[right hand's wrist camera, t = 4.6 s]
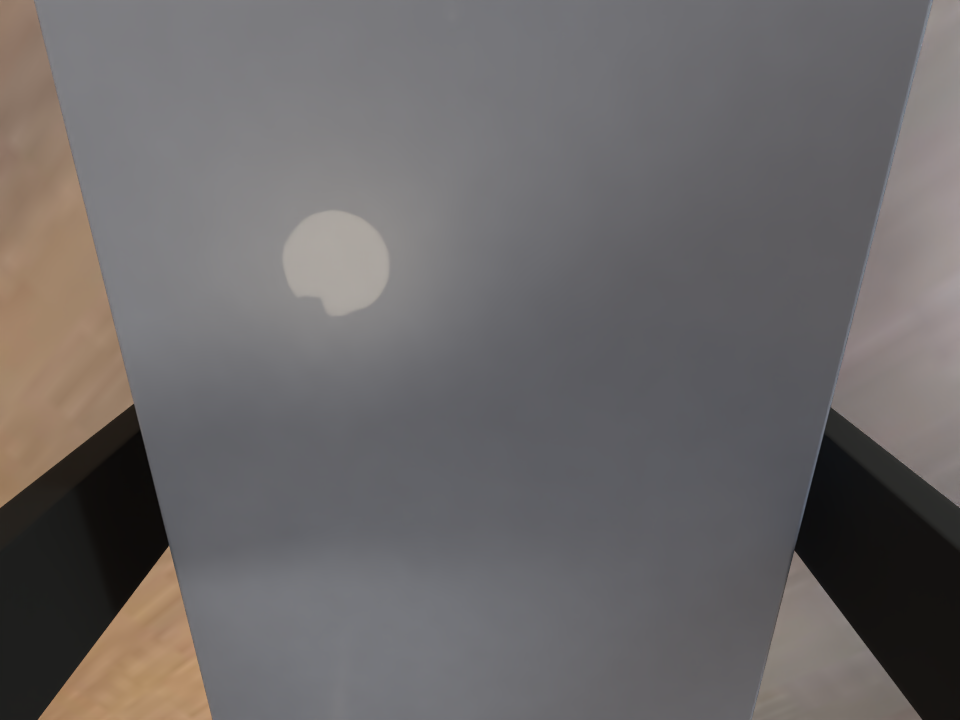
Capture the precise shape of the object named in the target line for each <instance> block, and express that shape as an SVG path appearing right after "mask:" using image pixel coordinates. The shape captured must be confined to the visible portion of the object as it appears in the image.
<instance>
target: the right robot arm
mask: <svg viewBox="0 0 960 720" xmlns="http://www.w3.org/2000/svg"><path fill="white" fill-rule="evenodd" d="M168 546H169V542H168V538H167V534H166V530H165V526H164V522H163V518H162V514H161V510H160V506H159V502H158V498H157V494H156V490H155V486H154V482H153V478H152V474H151V470H150V466H149V462H148V457H147V453H146V449H145V445H144V441H143V437H142V433H141V429H140V425H139V421H138V417H137V413H136V409H135V405H134V404H133V405H132V406H130V407H129V408H128V409H127V410H125V411H124V412H123V413H121V414H120V415H119V416H118V417H116V418H115V419H114V420H112V421H111V422H110V423H109V424H107V425H106V426H105V427H104V428H102V429H101V430H100V431H98V432H97V433H96V434H95V435H93V436H92V437H91V438H89V439H88V440H87V441H86V442H84V443H83V444H82V445H80V446H79V447H78V448H77V449H75V450H74V451H73V452H71V453H70V454H69V455H68V456H66V457H65V458H64V459H63V460H61V461H60V462H59V463H57V464H56V465H55V466H54V467H52V468H51V469H50V470H48V471H47V472H46V473H45V474H43V475H42V476H41V477H39V478H38V479H37V480H36V481H34V482H33V483H32V484H31V485H29V486H28V487H27V488H25V489H24V490H23V491H22V492H20V493H19V494H18V495H16V496H15V497H14V498H13V499H11V500H10V501H9V502H7V503H6V504H5V505H4V506H2V507H1V508H0V720H38V718H39V717H40V716H41V714H42V713H43V712H44V710H45V709H46V708H47V706H48V705H49V704H50V703H51V701H52V700H53V699H54V697H55V696H56V695H57V693H58V692H59V691H60V689H61V688H62V687H63V685H64V684H65V683H66V681H67V680H68V679H69V677H70V676H71V675H72V673H73V672H74V671H75V669H76V668H77V667H78V665H79V664H80V663H81V661H82V660H83V659H84V657H85V656H86V655H87V653H88V652H89V651H90V650H91V648H92V647H93V646H94V644H95V643H96V642H97V640H98V639H99V638H100V636H101V635H102V634H103V632H104V631H105V630H106V628H107V627H108V626H109V624H110V623H111V622H112V620H113V619H114V618H115V616H116V615H117V614H118V612H119V611H120V610H121V608H122V607H123V606H124V604H125V603H126V602H127V601H128V599H129V598H130V597H131V595H132V594H133V593H134V591H135V590H136V589H137V587H138V586H139V585H140V583H141V582H142V581H143V579H144V578H145V577H146V575H147V574H148V573H149V571H150V570H151V569H152V567H153V566H154V565H155V563H156V562H157V561H158V559H159V558H160V557H161V555H162V554H163V553H164V551H165V550H166V549H167V548H168ZM794 550H795V551H796V553H797V554H798V555H799V557H800V558H801V559H802V561H803V562H804V563H805V565H806V566H807V567H808V569H809V570H810V571H811V573H812V574H813V575H814V577H815V578H816V579H817V581H818V582H819V583H820V585H821V586H822V587H823V589H824V590H825V591H826V593H827V594H828V595H829V597H830V598H831V599H832V601H833V602H834V603H835V604H836V606H837V607H838V608H839V610H840V611H841V612H842V614H843V615H844V616H845V618H846V619H847V620H848V622H849V623H850V624H851V626H852V627H853V628H854V630H855V631H856V632H857V634H858V635H859V636H860V638H861V639H862V640H863V642H864V643H865V644H866V646H867V647H868V648H869V650H870V651H871V652H872V654H873V655H874V656H875V657H876V659H877V660H878V661H879V663H880V664H881V665H882V667H883V668H884V669H885V671H886V672H887V673H888V675H889V676H890V677H891V679H892V680H893V681H894V683H895V684H896V685H897V687H898V688H899V689H900V691H901V692H902V693H903V695H904V696H905V697H906V699H907V700H908V701H909V703H910V704H911V705H912V706H913V708H914V709H915V710H916V712H917V713H918V714H919V716H920V717H921V718H922V720H960V508H959V507H958V506H956V505H955V504H954V503H953V502H951V501H950V500H949V499H947V498H946V497H945V496H944V495H942V494H941V493H940V492H938V491H937V490H936V489H935V488H933V487H932V486H931V485H929V484H928V483H927V482H926V481H924V480H923V479H922V478H921V477H919V476H918V475H917V474H915V473H914V472H913V471H912V470H910V469H909V468H908V467H906V466H905V465H904V464H903V463H901V462H900V461H899V460H897V459H896V458H895V457H894V456H892V455H891V454H890V453H889V452H887V451H886V450H885V449H883V448H882V447H881V446H880V445H878V444H877V443H876V442H874V441H873V440H872V439H871V438H869V437H868V436H867V435H865V434H864V433H863V432H862V431H860V430H859V429H858V428H856V427H855V426H854V425H853V424H851V423H850V422H849V421H848V420H846V419H845V418H844V417H842V416H841V415H840V414H839V413H837V412H836V411H835V410H833V409H832V408H831V407H830V410H829V414H828V418H827V422H826V426H825V430H824V434H823V438H822V442H821V446H820V450H819V454H818V458H817V462H816V466H815V470H814V474H813V478H812V482H811V486H810V490H809V494H808V498H807V502H806V506H805V510H804V514H803V518H802V522H801V526H800V530H799V533H798V537H797V541H796V545H795V549H794Z"/></svg>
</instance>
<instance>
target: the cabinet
mask: <svg viewBox="0 0 960 720" xmlns="http://www.w3.org/2000/svg"><path fill="white" fill-rule="evenodd" d="M34 2H35V6H36V10H37V14H38V18H39V22H40V26H41V31H42V35H43V39H44V43H45V47H46V51H47V55H48V59H49V63H50V67H51V71H52V75H53V79H54V83H55V87H56V91H57V95H58V99H59V103H60V107H61V111H62V115H63V119H64V123H65V127H66V131H67V135H68V139H69V143H70V147H71V151H72V155H73V159H74V163H75V167H76V171H77V176H78V180H79V184H80V188H81V192H82V196H83V200H84V204H85V208H86V212H87V216H88V220H89V224H90V228H91V232H92V236H93V240H94V244H95V248H96V252H97V256H98V260H99V264H100V268H101V272H102V276H103V280H104V284H105V288H106V292H107V296H108V300H109V304H110V308H111V312H112V316H113V321H114V325H115V329H116V333H117V337H118V341H119V345H120V349H121V353H122V357H123V361H124V365H125V369H126V373H127V377H128V381H129V385H130V389H131V393H132V397H133V401H134V405H135V409H136V413H137V417H138V421H139V425H140V429H141V433H142V437H143V441H144V445H145V449H146V453H147V457H148V462H149V466H150V470H151V474H152V478H153V482H154V486H155V490H156V494H157V498H158V502H159V506H160V510H161V514H162V518H163V522H164V526H165V530H166V534H167V538H168V542H169V546H170V550H171V554H172V558H173V562H174V566H175V570H176V574H177V578H178V582H179V586H180V590H181V594H182V598H183V602H184V607H185V611H186V615H187V619H188V623H189V627H190V631H191V635H192V639H193V643H194V647H195V651H196V655H197V659H198V663H199V667H200V671H201V675H202V679H203V683H204V687H205V691H206V695H207V699H208V703H209V707H210V711H211V715H212V719H213V720H752V716H753V712H754V708H755V704H756V700H757V696H758V692H759V688H760V684H761V680H762V676H763V672H764V668H765V664H766V660H767V656H768V653H769V649H770V645H771V641H772V637H773V633H774V629H775V625H776V621H777V617H778V613H779V609H780V605H781V601H782V597H783V593H784V589H785V585H786V581H787V577H788V573H789V569H790V565H791V561H792V557H793V553H794V549H795V545H796V541H797V537H798V533H799V530H800V526H801V522H802V518H803V514H804V510H805V506H806V502H807V498H808V494H809V490H810V486H811V482H812V478H813V474H814V470H815V466H816V462H817V458H818V454H819V450H820V446H821V442H822V438H823V434H824V430H825V426H826V422H827V418H828V414H829V410H830V406H831V403H832V399H833V395H834V391H835V387H836V383H837V379H838V375H839V371H840V367H841V363H842V359H843V355H844V351H845V347H846V343H847V339H848V335H849V331H850V327H851V323H852V319H853V315H854V311H855V307H856V303H857V299H858V295H859V291H860V287H861V283H862V279H863V276H864V272H865V268H866V264H867V260H868V256H869V252H870V248H871V244H872V240H873V236H874V232H875V228H876V224H877V220H878V216H879V212H880V208H881V204H882V200H883V196H884V192H885V188H886V184H887V180H888V176H889V172H890V168H891V164H892V160H893V156H894V152H895V149H896V145H897V141H898V137H899V133H900V129H901V125H902V121H903V117H904V113H905V109H906V105H907V101H908V97H909V93H910V89H911V85H912V81H913V77H914V73H915V69H916V65H917V61H918V57H919V53H920V49H921V45H922V41H923V37H924V33H925V29H926V25H927V22H928V18H929V14H930V10H931V6H932V2H933V0H34Z"/></svg>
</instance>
